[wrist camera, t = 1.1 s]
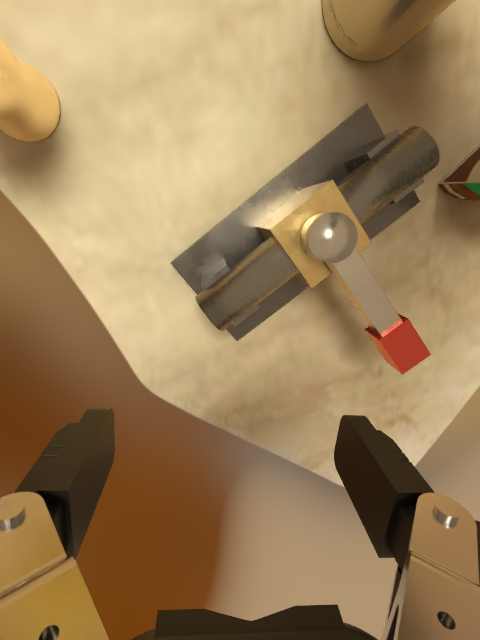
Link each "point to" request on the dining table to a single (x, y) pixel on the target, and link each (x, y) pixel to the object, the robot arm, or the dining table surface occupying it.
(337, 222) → the valve lever
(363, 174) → the valve pipe
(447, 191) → the food container
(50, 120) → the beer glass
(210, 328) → the dining table surface
